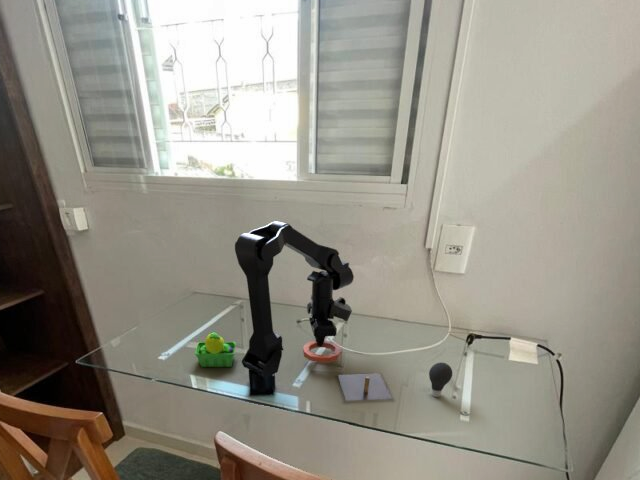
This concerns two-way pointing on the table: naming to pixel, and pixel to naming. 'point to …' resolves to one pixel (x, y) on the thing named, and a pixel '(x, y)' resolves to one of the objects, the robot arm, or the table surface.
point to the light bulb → (439, 377)
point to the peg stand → (364, 387)
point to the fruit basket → (215, 352)
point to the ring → (322, 358)
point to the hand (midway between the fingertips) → (319, 345)
